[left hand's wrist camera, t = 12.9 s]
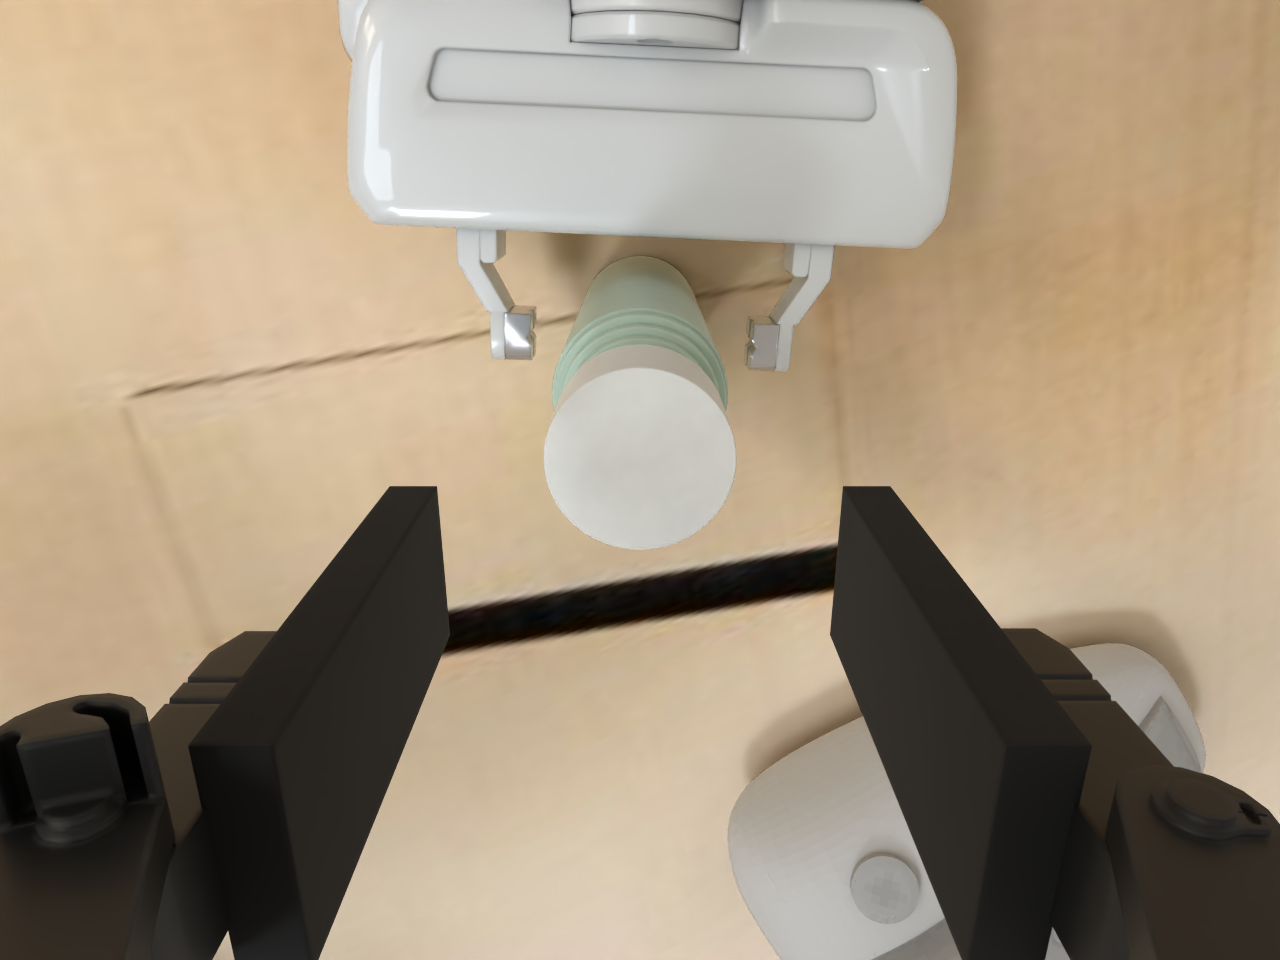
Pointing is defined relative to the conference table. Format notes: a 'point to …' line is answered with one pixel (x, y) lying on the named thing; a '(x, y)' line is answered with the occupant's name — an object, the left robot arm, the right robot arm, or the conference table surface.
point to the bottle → (640, 320)
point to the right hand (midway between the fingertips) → (640, 362)
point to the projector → (890, 831)
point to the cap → (640, 448)
